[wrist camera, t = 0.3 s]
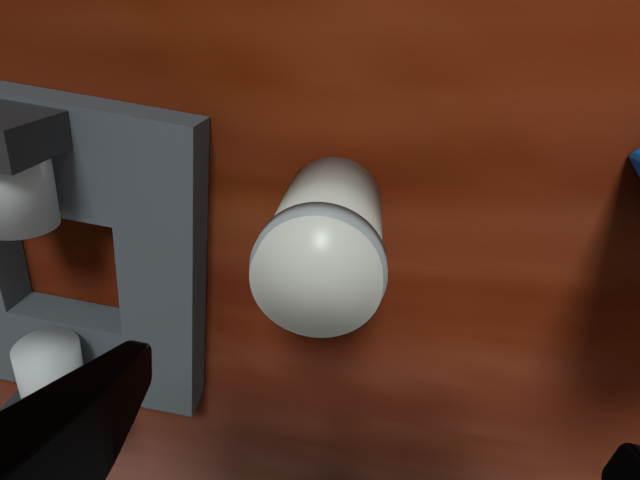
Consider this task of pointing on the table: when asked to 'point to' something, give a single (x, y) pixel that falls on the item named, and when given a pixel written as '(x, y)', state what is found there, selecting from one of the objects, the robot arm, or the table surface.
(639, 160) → the ink box
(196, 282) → the shaft mount
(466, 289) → the table surface
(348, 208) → the coupler
